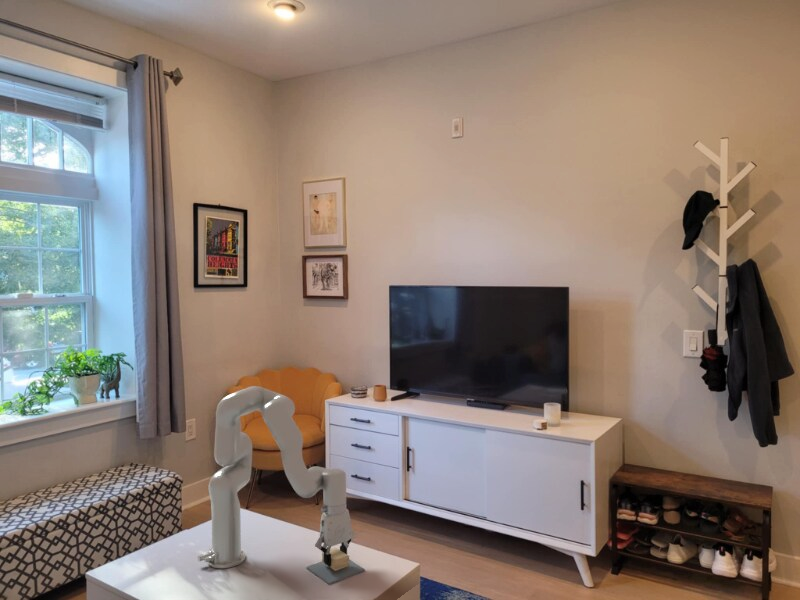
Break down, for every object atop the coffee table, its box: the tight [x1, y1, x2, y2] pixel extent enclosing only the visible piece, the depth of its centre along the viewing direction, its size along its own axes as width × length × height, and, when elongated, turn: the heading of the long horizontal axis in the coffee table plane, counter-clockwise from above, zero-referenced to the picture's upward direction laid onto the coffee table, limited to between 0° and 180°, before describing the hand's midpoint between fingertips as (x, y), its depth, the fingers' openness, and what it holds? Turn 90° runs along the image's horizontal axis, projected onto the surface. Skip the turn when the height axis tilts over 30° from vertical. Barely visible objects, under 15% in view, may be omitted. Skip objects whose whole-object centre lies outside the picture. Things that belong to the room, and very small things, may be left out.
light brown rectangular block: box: [321, 547, 350, 571], centre depth 193 cm, size 8×6×3 cm
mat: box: [305, 559, 366, 586], centre depth 193 cm, size 14×14×1 cm
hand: (335, 561), depth 193 cm, fingers closed on light brown rectangular block, 5 cm apart
